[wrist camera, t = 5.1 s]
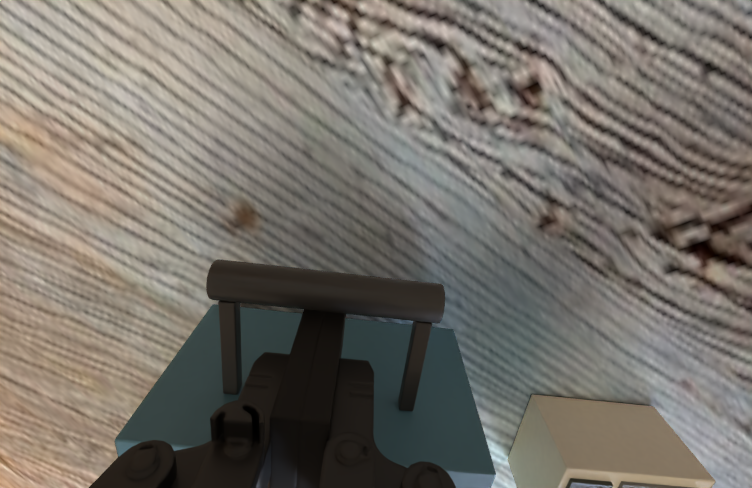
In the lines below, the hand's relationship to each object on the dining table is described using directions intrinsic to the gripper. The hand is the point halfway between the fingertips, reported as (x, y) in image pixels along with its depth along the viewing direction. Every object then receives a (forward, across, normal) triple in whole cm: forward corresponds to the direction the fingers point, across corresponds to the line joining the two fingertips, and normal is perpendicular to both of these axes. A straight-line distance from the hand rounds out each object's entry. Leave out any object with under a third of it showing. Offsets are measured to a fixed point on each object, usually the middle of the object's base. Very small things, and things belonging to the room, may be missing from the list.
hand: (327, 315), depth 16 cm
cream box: (+5, -17, +11) cm, 21 cm away
